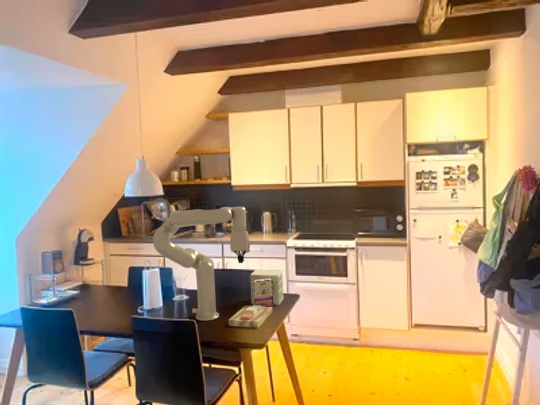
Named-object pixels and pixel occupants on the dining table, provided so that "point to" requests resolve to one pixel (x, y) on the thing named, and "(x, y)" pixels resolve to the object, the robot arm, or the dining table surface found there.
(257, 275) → the supplement box
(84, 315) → the dining table surface
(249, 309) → the offwhite key
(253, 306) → the sage key
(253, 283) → the candy bar box
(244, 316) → the terracotta key
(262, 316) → the keypad base
